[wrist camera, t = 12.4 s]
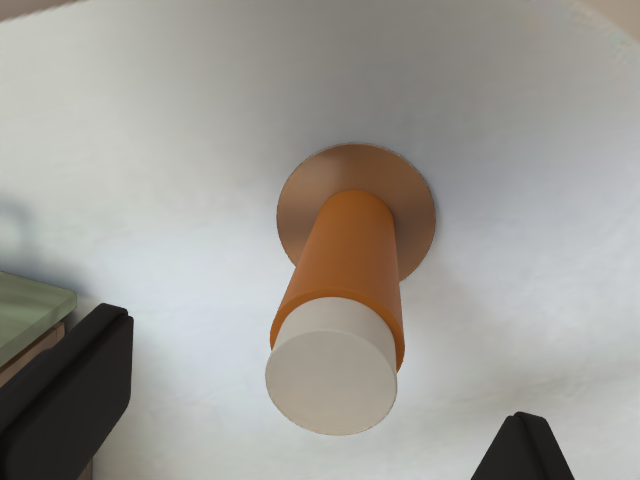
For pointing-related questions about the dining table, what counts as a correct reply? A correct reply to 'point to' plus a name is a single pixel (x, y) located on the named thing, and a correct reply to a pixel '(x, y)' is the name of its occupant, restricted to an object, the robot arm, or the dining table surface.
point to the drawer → (29, 320)
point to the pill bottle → (340, 322)
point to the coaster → (367, 175)
